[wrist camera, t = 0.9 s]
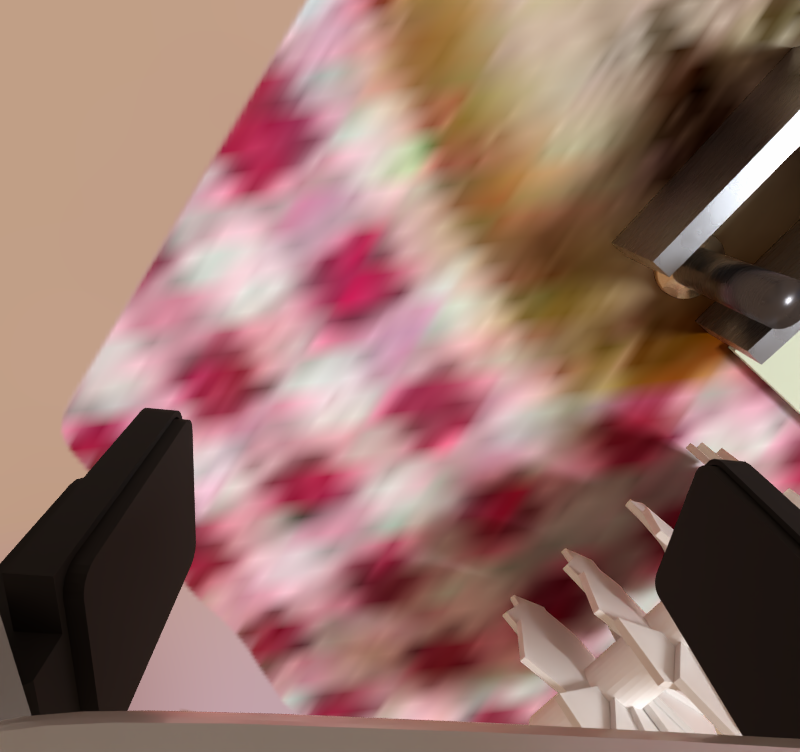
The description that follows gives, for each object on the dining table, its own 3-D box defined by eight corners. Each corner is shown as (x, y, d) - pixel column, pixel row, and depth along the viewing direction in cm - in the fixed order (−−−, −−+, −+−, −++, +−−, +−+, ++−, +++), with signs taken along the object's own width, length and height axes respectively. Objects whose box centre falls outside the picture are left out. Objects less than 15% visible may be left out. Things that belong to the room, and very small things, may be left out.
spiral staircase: (741, 456, 48) (542, 640, 54) (665, 385, 37) (424, 629, 43) (988, 652, 35) (688, 868, 41) (991, 637, 23) (574, 940, 29)
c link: (792, 47, 32) (877, 29, 27) (886, 163, 35) (980, 167, 30) (611, 243, 37) (653, 261, 31) (707, 332, 39) (761, 364, 34)
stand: (691, 216, 36) (796, 242, 27) (733, 258, 37) (847, 297, 28) (640, 269, 37) (723, 311, 28) (682, 309, 38) (775, 361, 29)
